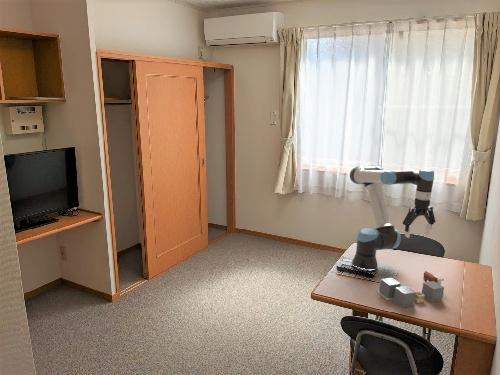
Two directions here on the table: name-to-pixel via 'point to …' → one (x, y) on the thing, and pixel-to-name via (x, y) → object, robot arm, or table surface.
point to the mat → (384, 296)
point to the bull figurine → (431, 278)
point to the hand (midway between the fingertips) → (417, 235)
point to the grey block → (404, 296)
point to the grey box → (388, 287)
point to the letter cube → (419, 297)
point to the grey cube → (432, 291)
